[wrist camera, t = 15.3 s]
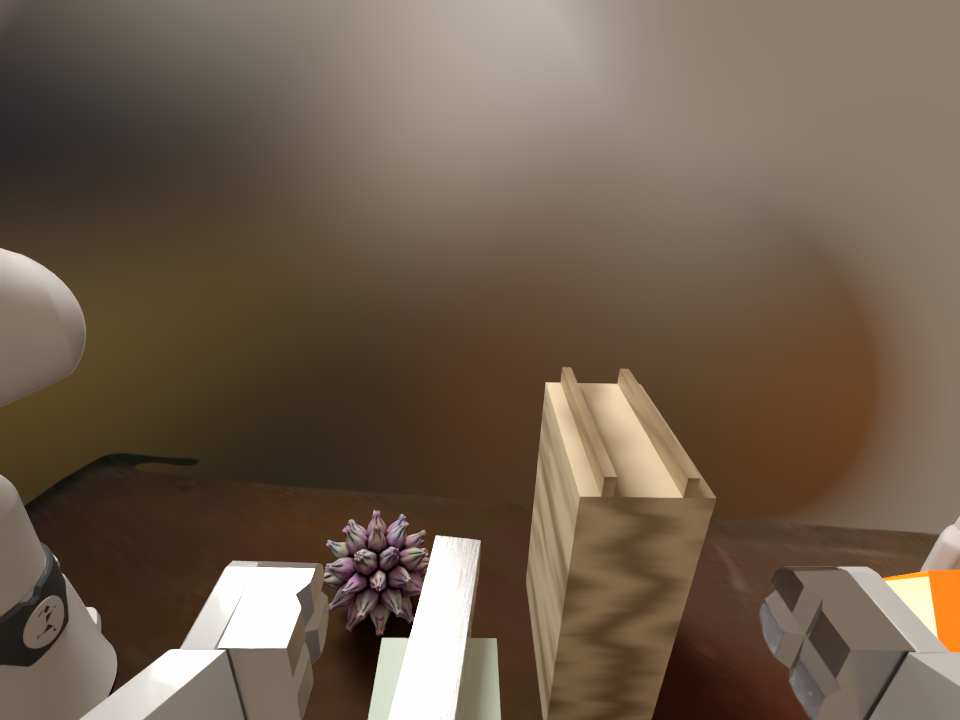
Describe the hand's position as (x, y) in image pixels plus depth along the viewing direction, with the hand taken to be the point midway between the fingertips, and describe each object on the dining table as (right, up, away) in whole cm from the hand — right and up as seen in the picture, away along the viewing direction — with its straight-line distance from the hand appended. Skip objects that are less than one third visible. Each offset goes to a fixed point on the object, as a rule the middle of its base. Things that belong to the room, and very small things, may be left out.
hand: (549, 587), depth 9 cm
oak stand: (+9, -25, +42) cm, 49 cm away
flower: (-12, -23, +45) cm, 52 cm away
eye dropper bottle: (+53, -23, +50) cm, 77 cm away
